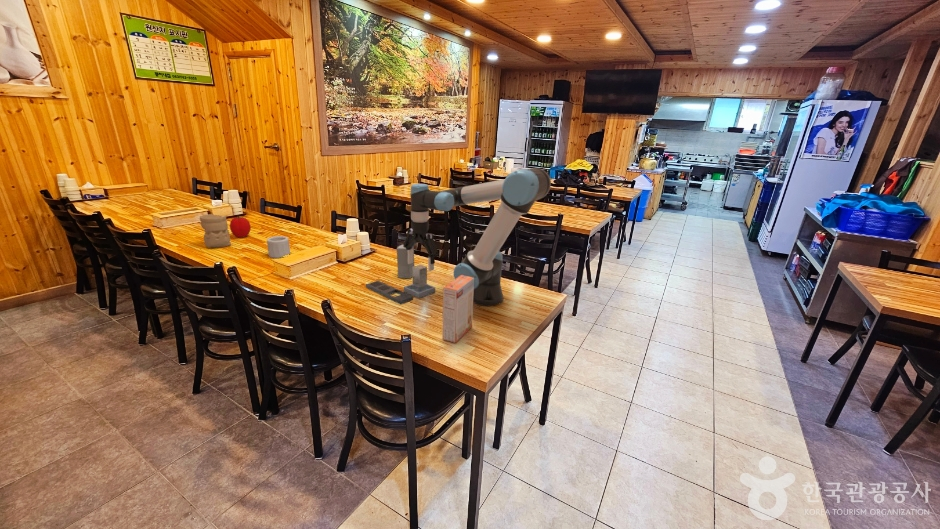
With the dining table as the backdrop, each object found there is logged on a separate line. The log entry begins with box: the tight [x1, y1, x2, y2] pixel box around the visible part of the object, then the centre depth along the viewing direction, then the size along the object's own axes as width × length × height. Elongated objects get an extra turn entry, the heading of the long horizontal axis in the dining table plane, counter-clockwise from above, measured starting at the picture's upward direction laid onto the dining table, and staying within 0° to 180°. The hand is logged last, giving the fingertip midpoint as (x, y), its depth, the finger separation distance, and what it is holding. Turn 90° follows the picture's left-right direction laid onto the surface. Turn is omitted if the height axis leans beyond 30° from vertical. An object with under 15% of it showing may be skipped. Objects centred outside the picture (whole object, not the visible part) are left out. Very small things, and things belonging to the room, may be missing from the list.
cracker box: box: [442, 275, 474, 344], centre depth 135 cm, size 14×6×21 cm, turn 154°
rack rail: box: [365, 280, 414, 305], centre depth 168 cm, size 25×7×2 cm, turn 50°
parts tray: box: [403, 283, 436, 300], centre depth 171 cm, size 10×10×2 cm
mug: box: [266, 235, 291, 259], centre depth 207 cm, size 14×11×10 cm
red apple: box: [229, 216, 251, 238], centre depth 235 cm, size 12×12×13 cm
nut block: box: [412, 264, 428, 293], centre depth 169 cm, size 5×5×12 cm
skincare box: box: [396, 243, 415, 280], centre depth 187 cm, size 8×7×16 cm
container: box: [199, 213, 232, 248], centre depth 215 cm, size 13×13×18 cm
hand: (420, 266), depth 167 cm, fingers open, 13 cm apart
